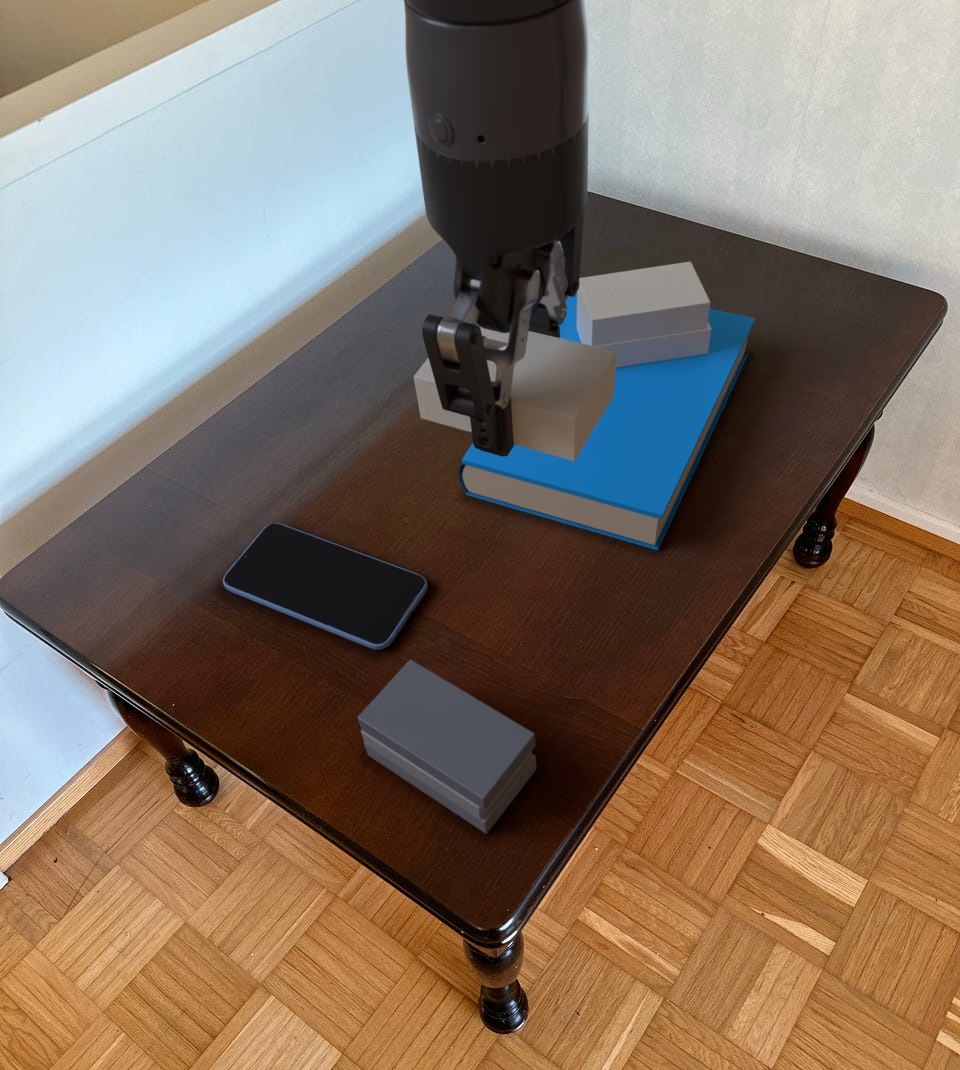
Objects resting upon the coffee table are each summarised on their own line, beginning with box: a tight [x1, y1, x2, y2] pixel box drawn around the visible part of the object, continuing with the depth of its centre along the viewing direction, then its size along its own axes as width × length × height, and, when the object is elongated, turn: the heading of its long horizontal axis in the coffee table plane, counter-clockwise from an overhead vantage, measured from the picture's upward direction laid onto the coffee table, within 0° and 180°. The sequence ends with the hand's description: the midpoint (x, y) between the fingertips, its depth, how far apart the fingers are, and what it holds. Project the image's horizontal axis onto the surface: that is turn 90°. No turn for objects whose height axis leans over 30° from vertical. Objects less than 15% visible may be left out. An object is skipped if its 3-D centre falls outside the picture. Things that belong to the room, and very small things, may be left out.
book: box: [457, 293, 756, 551], centre depth 79 cm, size 17×4×25 cm
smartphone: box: [222, 522, 428, 651], centre depth 72 cm, size 7×1×15 cm
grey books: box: [357, 659, 537, 834], centre depth 60 cm, size 10×6×5 cm, turn 53°
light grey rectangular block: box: [577, 261, 711, 368], centre depth 78 cm, size 10×6×5 cm, turn 98°
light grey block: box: [413, 324, 616, 461], centre depth 52 cm, size 10×6×3 cm, turn 64°
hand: (518, 412), depth 54 cm, fingers closed on light grey block, 5 cm apart
